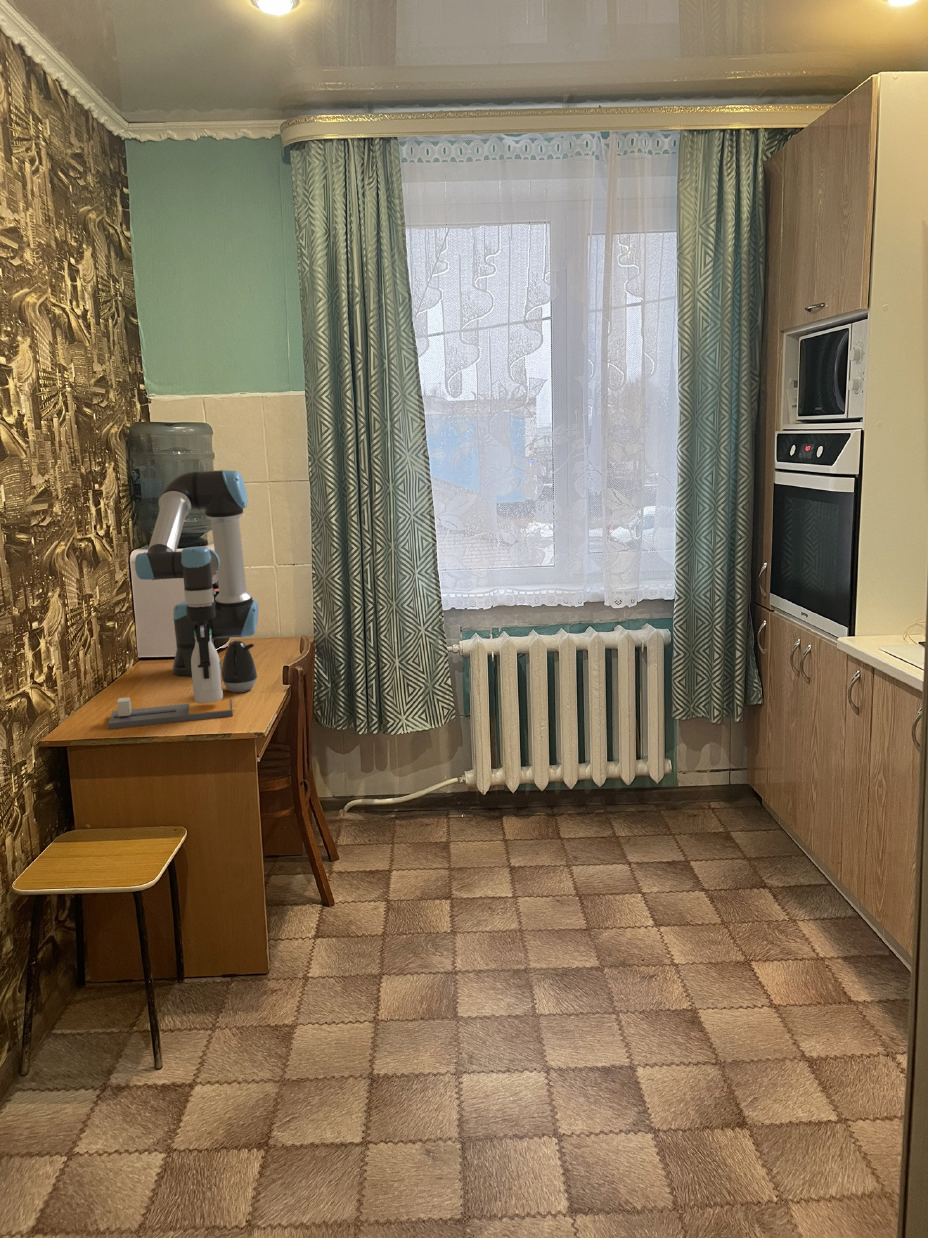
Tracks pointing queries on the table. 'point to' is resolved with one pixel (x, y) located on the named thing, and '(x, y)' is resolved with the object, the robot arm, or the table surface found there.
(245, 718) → the table surface
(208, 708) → the board
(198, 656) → the milk bottle
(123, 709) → the handle
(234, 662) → the pump dispenser
